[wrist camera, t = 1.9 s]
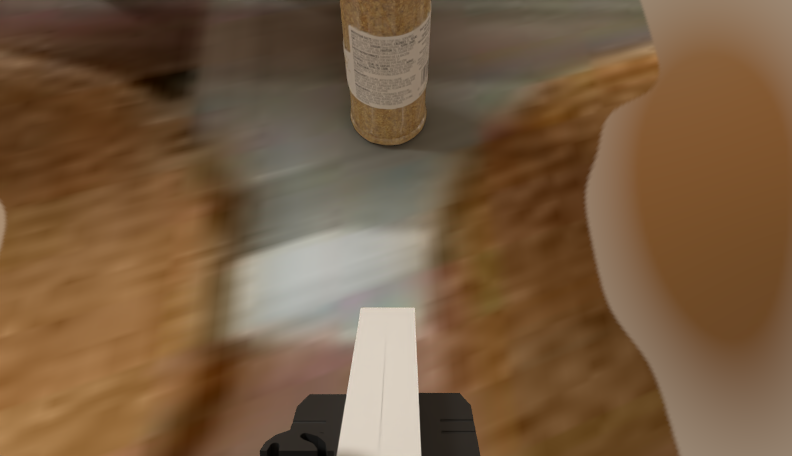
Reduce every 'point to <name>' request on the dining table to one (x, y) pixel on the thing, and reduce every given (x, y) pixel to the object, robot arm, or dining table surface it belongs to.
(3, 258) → the dining table surface
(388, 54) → the sprinkles bottle
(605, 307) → the dining table surface
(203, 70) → the dining table surface
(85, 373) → the dining table surface
